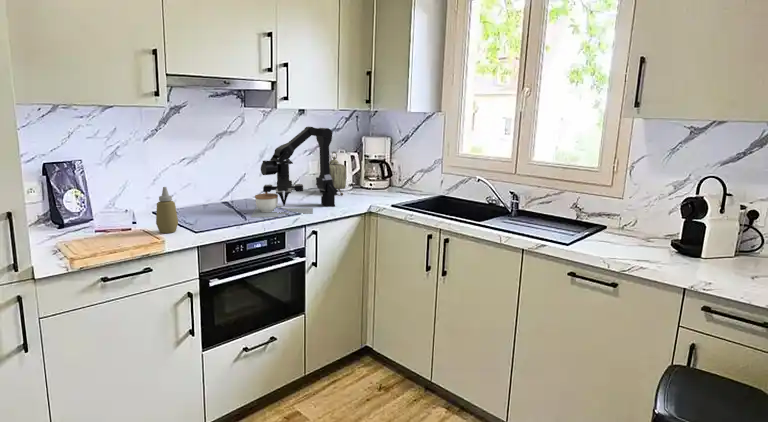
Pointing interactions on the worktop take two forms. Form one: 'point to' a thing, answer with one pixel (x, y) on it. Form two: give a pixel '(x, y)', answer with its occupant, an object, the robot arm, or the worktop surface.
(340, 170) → the olive tall container
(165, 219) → the squeeze bottle
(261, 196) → the lidded jar
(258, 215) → the t mat
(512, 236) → the worktop surface
